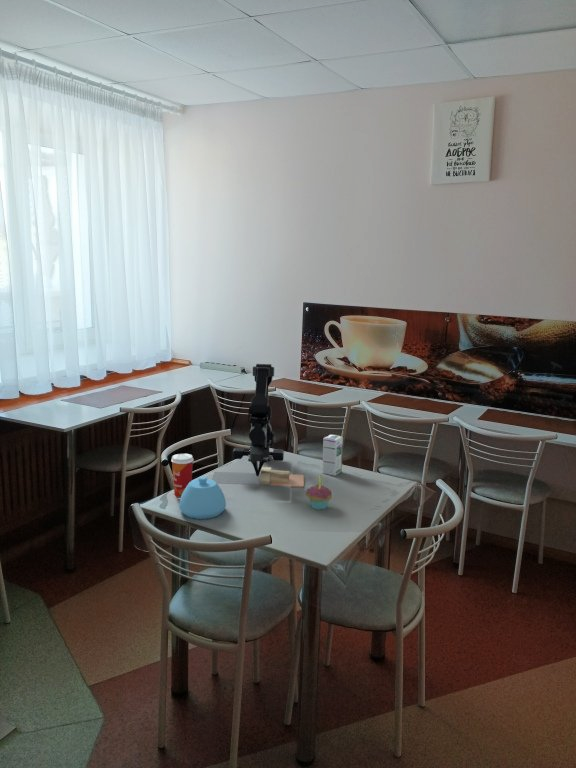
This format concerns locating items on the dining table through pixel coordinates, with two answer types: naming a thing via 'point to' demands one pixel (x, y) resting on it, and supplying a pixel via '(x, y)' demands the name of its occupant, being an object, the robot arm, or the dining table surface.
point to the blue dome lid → (202, 499)
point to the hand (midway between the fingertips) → (257, 476)
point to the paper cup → (181, 472)
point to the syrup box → (332, 454)
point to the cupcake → (319, 496)
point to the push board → (254, 479)
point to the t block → (273, 475)
